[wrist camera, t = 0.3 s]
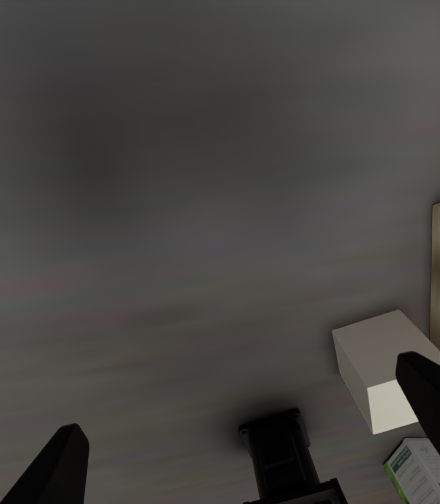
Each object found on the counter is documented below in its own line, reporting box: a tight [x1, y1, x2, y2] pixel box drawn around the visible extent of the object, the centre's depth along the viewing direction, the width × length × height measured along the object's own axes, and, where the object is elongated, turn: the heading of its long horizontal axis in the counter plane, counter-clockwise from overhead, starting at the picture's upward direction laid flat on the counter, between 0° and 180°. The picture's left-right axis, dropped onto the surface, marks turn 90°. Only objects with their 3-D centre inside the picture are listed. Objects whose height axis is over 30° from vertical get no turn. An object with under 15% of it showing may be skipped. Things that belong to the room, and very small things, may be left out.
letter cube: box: [332, 309, 440, 435], centre depth 26 cm, size 6×6×6 cm
